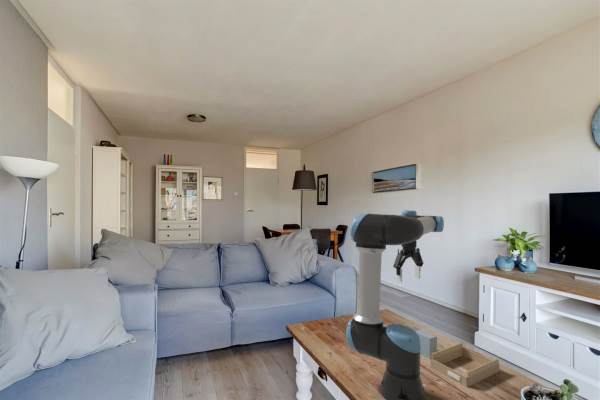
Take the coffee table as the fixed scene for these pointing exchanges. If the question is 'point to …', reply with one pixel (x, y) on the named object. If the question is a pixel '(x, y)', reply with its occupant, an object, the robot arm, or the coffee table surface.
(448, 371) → the wooden tray
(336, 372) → the coffee table surface
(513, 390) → the coffee table surface
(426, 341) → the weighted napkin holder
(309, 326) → the coffee table surface
